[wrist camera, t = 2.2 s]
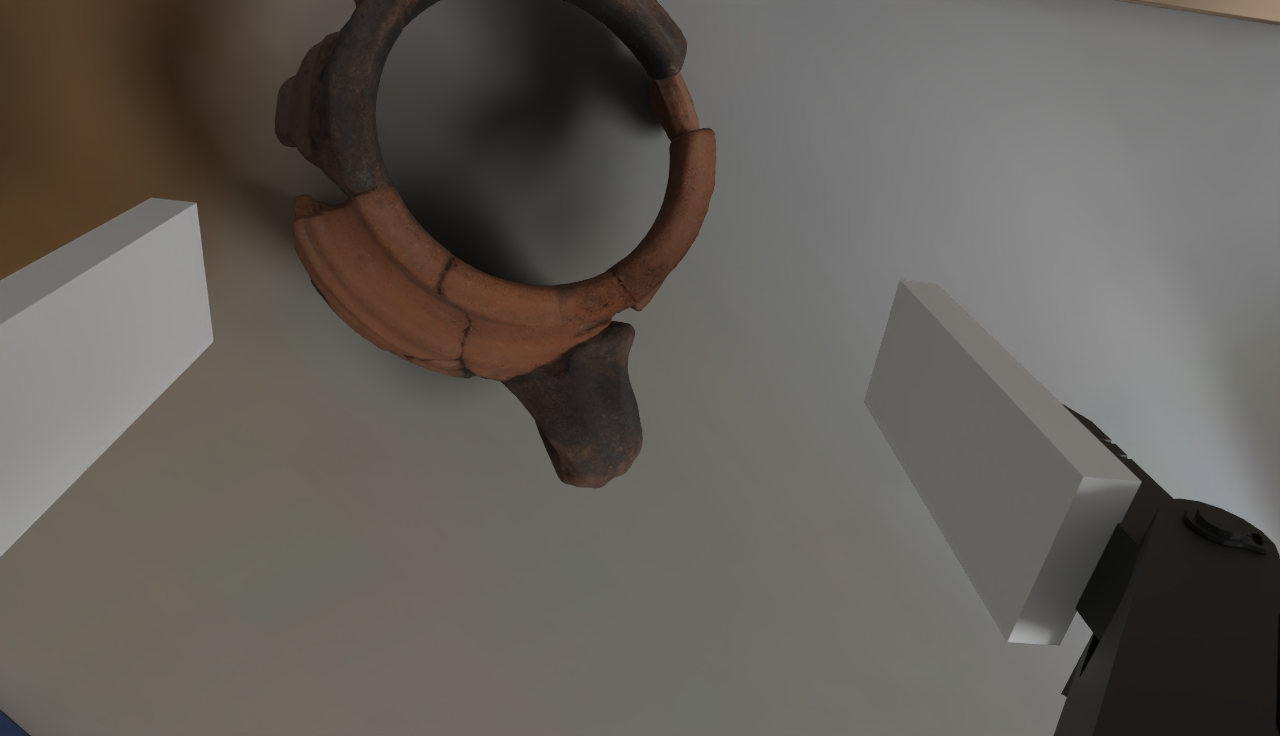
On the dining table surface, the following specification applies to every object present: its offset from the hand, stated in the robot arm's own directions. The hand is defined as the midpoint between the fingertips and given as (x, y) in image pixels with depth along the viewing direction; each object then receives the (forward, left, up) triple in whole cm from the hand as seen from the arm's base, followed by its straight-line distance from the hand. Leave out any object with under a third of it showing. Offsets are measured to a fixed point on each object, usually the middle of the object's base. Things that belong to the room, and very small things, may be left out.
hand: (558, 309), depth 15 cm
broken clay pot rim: (-1, 0, -7) cm, 7 cm away
